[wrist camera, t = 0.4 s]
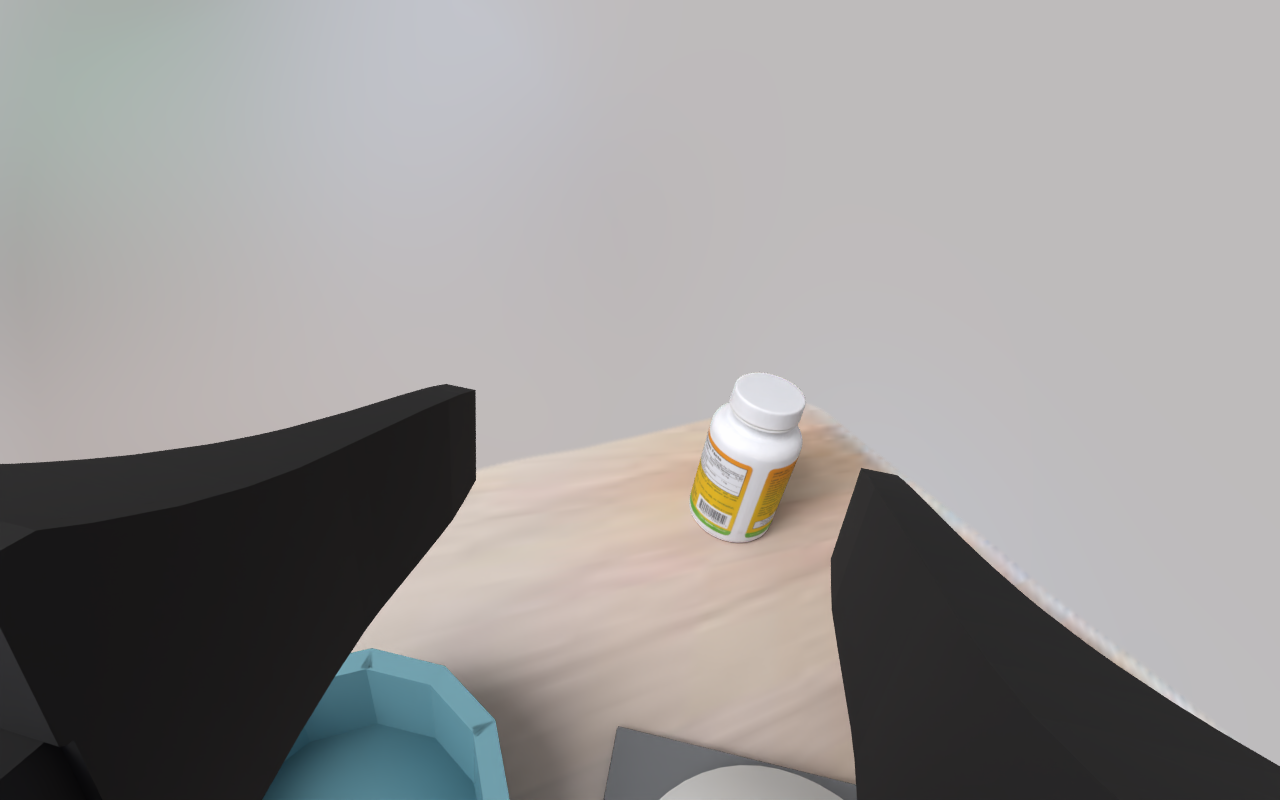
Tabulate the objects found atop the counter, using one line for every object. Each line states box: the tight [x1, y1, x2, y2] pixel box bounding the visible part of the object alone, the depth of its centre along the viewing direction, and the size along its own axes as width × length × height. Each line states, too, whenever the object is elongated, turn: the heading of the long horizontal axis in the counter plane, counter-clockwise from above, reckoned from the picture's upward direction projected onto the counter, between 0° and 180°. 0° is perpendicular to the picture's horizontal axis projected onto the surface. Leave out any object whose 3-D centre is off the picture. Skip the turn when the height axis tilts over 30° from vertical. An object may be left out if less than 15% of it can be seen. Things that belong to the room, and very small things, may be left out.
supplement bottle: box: [689, 373, 806, 543], centre depth 36 cm, size 5×5×10 cm
